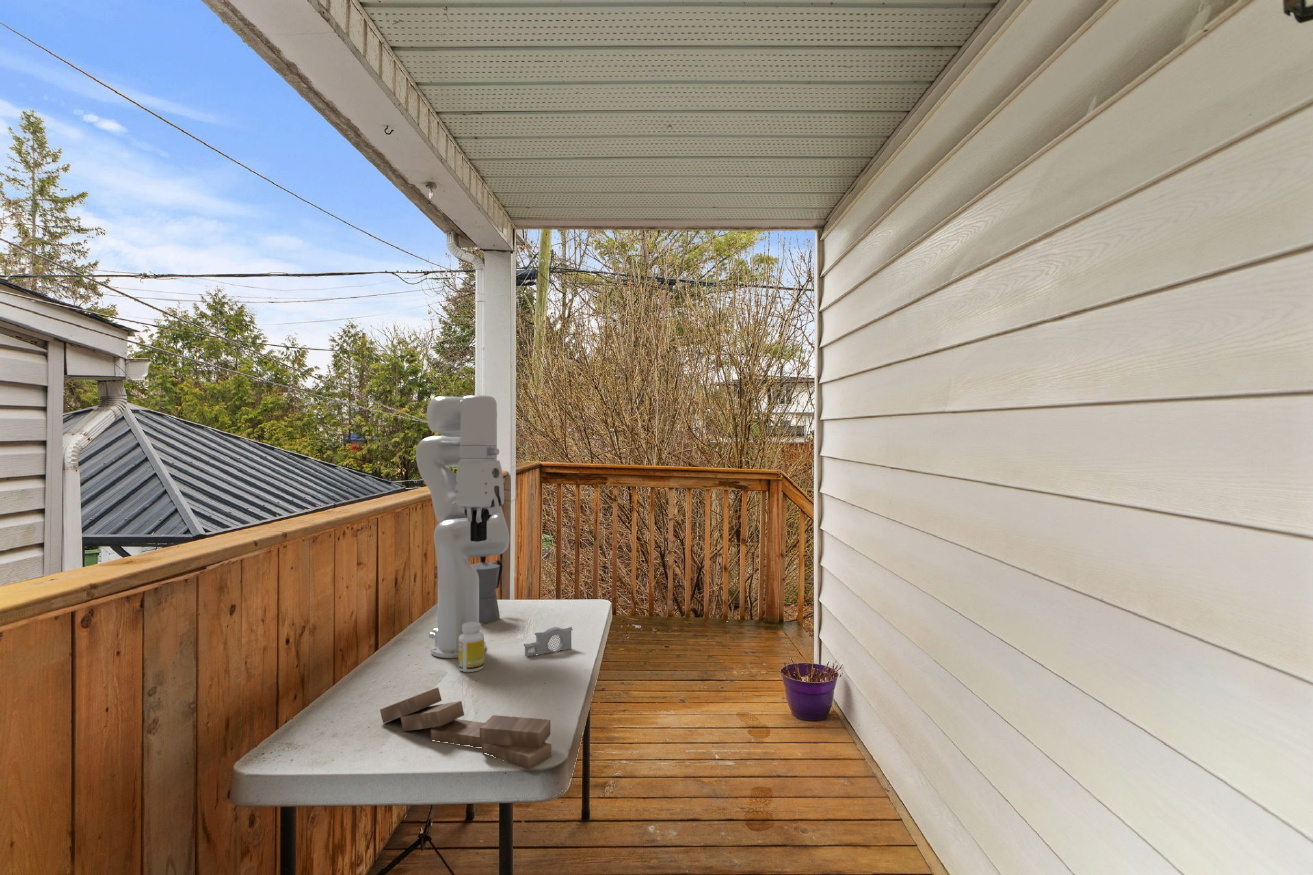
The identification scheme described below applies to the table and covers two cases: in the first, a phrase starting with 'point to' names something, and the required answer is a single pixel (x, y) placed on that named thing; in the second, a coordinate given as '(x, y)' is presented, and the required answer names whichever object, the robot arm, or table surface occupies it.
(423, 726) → the domino
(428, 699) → the domino
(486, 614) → the coffeepot
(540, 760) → the domino
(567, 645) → the garden wall model
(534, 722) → the domino
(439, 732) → the domino
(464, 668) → the supplement bottle
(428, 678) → the table surface
